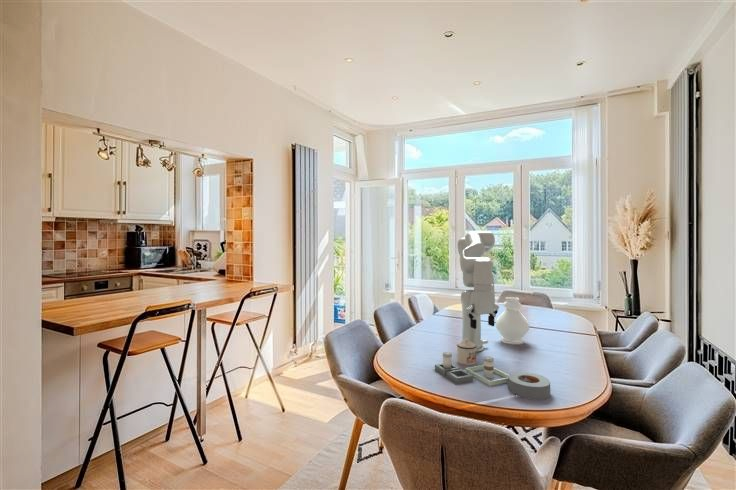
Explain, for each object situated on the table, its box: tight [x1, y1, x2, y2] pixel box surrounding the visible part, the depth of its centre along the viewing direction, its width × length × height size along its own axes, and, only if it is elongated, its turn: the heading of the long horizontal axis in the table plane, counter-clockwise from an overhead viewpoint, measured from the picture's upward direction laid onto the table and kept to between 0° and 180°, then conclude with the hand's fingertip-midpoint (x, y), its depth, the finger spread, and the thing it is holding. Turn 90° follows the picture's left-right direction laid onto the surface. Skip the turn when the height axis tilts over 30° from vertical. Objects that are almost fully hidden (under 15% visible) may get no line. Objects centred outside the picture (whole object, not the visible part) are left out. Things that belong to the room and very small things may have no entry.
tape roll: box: [507, 371, 551, 401], centre depth 141 cm, size 15×15×5 cm
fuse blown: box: [483, 356, 495, 379], centre depth 154 cm, size 4×4×8 cm
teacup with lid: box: [456, 339, 477, 366], centre depth 173 cm, size 12×9×12 cm
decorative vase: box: [495, 296, 530, 345], centre depth 207 cm, size 18×18×25 cm
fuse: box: [442, 351, 453, 369], centre depth 160 cm, size 4×4×8 cm
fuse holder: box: [432, 362, 476, 386], centre depth 155 cm, size 18×10×3 cm, turn 22°
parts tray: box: [464, 364, 509, 387], centre depth 154 cm, size 12×16×2 cm
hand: (482, 326), depth 157 cm, fingers open, 9 cm apart
